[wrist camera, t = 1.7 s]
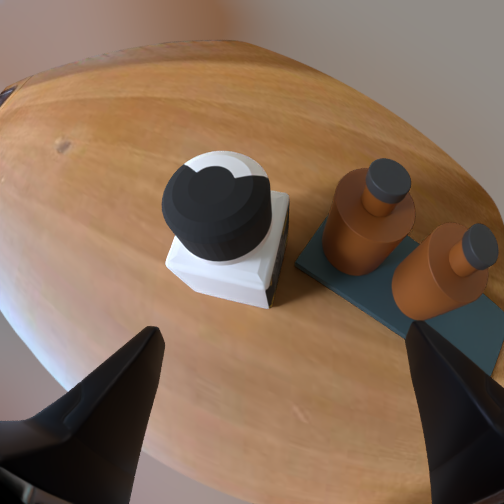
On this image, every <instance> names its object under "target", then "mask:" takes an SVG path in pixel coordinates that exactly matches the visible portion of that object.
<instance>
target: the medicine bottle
mask: <svg viewBox="0 0 504 504" xmlns="http://www.w3.org/2000/svg"><path fill="white" fill-rule="evenodd" d="M162 212H163V216H164V219H165V221H166V223H167V225H168V226H169V228H170V229H171V230H172V232H173V233H174V234H175V238H174V240H173V243H172V246H171V249H170V251H169V254H168V257H167V260H166V266H167V268H169V269H170V270H171V271H172V272H173V273H174V274H175V275H177V276H178V277H179V278H180V279H181V280H182V281H184V282H185V283H186V284H187V285H188V286H189V287H191V288H192V289H193V290H194V291H196V292H199V293H203V294H207V295H211V296H215V297H219V298H223V299H227V300H231V301H235V302H240V303H244V304H248V305H252V306H257V307H261V308H265V309H269V308H271V307H272V304H273V300H274V295H275V291H276V287H277V283H278V279H279V274H280V270H281V266H282V261H283V257H284V252H285V248H286V244H287V239H288V224H289V195H288V194H286V193H282V192H277V191H271V190H270V182H269V179H268V176H267V174H266V172H265V171H264V169H263V168H262V167H261V166H260V165H259V164H258V163H257V162H256V161H254V160H253V159H251V158H250V157H248V156H245V155H243V154H240V153H236V152H231V151H213V152H209V153H205V154H202V155H199V156H197V157H194V158H193V159H191V160H189V161H188V162H186V163H185V164H183V165H182V166H181V167H180V168H179V169H178V170H177V171H176V172H175V173H174V174H173V176H172V177H171V179H170V180H169V182H168V184H167V186H166V188H165V190H164V193H163V198H162Z"/></svg>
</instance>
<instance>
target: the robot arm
mask: <svg viewBox="0 0 504 504" xmlns="http://www.w3.org/2000/svg"><path fill="white" fill-rule="evenodd" d="M405 343H406V349H407V354H408V360H409V366H410V373H411V378H412V383H413V387H414V391H415V395H416V399H417V403H418V408H419V413H420V417H421V422H422V427H423V433H424V438H425V444H426V451H427V457H428V465H429V474H430V484H431V496H432V504H504V388H503V387H502V386H501V385H499V384H498V383H497V382H496V381H495V380H494V379H492V378H491V377H490V376H489V375H488V374H486V373H485V372H484V371H483V370H482V369H481V368H480V367H479V366H478V365H476V364H475V363H474V362H473V361H472V360H471V359H470V358H468V357H467V356H466V355H465V354H464V353H462V352H461V351H460V350H459V349H458V348H457V347H455V346H454V345H453V344H452V343H450V342H449V341H448V340H447V339H446V338H444V337H443V336H442V335H441V334H440V333H438V332H437V331H436V330H435V329H433V328H432V327H431V326H430V325H428V324H427V323H426V322H425V321H423V320H418V321H413V322H412V323H411V325H410V328H409V330H408V333H407V335H406V339H405ZM164 350H165V342H164V339H163V337H162V334H161V332H160V330H159V328H158V327H155V326H147V327H145V328H144V329H143V330H142V331H141V332H139V333H138V334H137V335H136V336H135V337H133V338H132V339H131V340H130V341H129V342H127V343H126V344H125V345H124V346H123V347H121V348H120V349H119V350H118V351H117V352H115V353H114V354H113V355H112V356H111V357H109V358H108V359H107V360H106V361H105V362H103V363H102V364H101V365H100V366H99V367H97V368H96V369H95V370H94V371H93V372H91V373H90V374H89V375H88V376H87V377H85V378H84V379H83V380H82V381H81V382H79V383H78V384H77V385H76V386H75V387H74V388H72V389H71V390H70V391H69V392H67V393H66V394H65V395H63V396H62V397H61V398H59V399H58V400H57V401H55V402H54V403H52V404H51V405H49V406H48V407H47V408H45V409H44V410H42V411H41V412H39V413H38V414H36V415H35V416H33V417H31V418H29V419H26V420H21V421H0V504H129V501H130V496H131V492H132V487H133V482H134V478H135V477H134V476H135V473H136V469H137V464H138V460H139V456H140V452H141V448H142V444H143V440H144V436H145V432H146V428H147V424H148V420H149V417H150V413H151V409H152V406H153V402H154V398H155V395H156V391H157V388H158V384H159V379H160V373H161V367H162V361H163V356H164Z"/></svg>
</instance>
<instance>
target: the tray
mask: <svg viewBox="0 0 504 504" xmlns="http://www.w3.org/2000/svg"><path fill="white" fill-rule="evenodd" d="M328 215H329V214H328ZM328 215H327V217H326V218H325V220H324V221H323V223H322V224H321V226H320V227H319V229H318V230H317V231H316V233H315V234H314V236H313V237H312V239H311V240H310V241H309V243H308V244H307V246H306V247H305V249H304V250H303V251H302V253H301V254H300V256H299V257H298V258H297V260H296V261H295V266H296V267H297V268H299V269H300V270H302V271H303V272H305V273H306V274H308V275H309V276H311V277H313V278H314V279H316V280H317V281H319V282H320V283H322V284H323V285H325V286H326V287H328V288H329V289H331V290H332V291H334V292H335V293H337V294H338V295H340V296H341V297H343V298H344V299H346V300H347V301H349V302H350V303H352V304H353V305H355V306H356V307H358V308H359V309H361V310H362V311H364V312H365V313H367V314H368V315H370V316H371V317H373V318H374V319H376V320H377V321H379V322H380V323H382V324H383V325H385V326H386V327H388V328H389V329H391V330H392V331H394V332H395V333H397V334H398V335H400V336H401V337H403V338H404V339H406V335H407V333H408V330H409V328H410V325H411V323H412V322H413V321H418V320H414V319H411V318H409V317H408V316H406V315H405V314H404V313H403V312H402V311H401V310H400V309H399V307H398V306H397V304H396V302H395V300H394V297H393V293H392V278H393V274H394V272H395V270H396V268H397V266H398V265H399V264H400V263H401V262H402V261H403V260H404V259H405V258H406V257H407V256H408V255H409V254H410V253H412V252H413V251H414V250H415V249H416V248H417V247H418V246H419V245H420V244H419V243H417V242H416V241H414V240H413V239H411V238H410V237H409V236H406V237H405V238H404V239H403V240H402V241H401V242H400V244H399V245H398V246H397V247H396V248H395V249H394V250H393V251H392V252H391V254H390V255H389V256H388V257H387V258H386V259H385V260H384V261H383V262H382V263H381V264H380V265H379V266H378V267H377V268H376V269H375V270H374V271H372V272H371V273H368V274H366V275H361V276H353V275H348V274H345V273H343V272H341V271H339V270H337V269H336V268H335V267H334V266H333V265H332V264H331V263H330V262H329V261H328V259H327V258H326V256H325V254H324V251H323V247H322V236H323V232H324V229H325V225H326V222H327V219H328ZM423 321H425V322H426V323H427V324H428V325H430V326H431V327H432V328H433V329H435V330H436V331H437V332H438V333H440V334H441V335H442V336H443V337H444V338H446V339H447V340H448V341H449V342H450V343H452V344H453V345H454V346H455V347H457V348H458V349H459V350H460V351H461V352H462V353H464V354H465V355H466V356H467V357H468V358H470V359H471V360H472V361H473V362H474V363H475V364H476V365H478V366H479V367H480V368H481V369H482V370H483V371H484V372H485V373H486V374H488V375H489V376H491V374H492V371H493V369H494V366H495V364H496V361H497V358H498V355H499V352H500V350H501V347H502V344H503V340H504V312H503V311H502V310H501V309H500V308H499V307H498V306H497V305H496V304H495V303H494V302H492V301H491V300H490V299H489V298H488V297H487V296H486V295H484V294H483V293H482V295H481V296H480V297H479V298H478V299H477V300H475V301H474V302H472V303H469V304H467V305H464V306H462V307H460V308H457V309H455V310H452V311H449V312H447V313H444V314H442V315H439V316H436V317H433V318H431V319H428V320H423Z"/></svg>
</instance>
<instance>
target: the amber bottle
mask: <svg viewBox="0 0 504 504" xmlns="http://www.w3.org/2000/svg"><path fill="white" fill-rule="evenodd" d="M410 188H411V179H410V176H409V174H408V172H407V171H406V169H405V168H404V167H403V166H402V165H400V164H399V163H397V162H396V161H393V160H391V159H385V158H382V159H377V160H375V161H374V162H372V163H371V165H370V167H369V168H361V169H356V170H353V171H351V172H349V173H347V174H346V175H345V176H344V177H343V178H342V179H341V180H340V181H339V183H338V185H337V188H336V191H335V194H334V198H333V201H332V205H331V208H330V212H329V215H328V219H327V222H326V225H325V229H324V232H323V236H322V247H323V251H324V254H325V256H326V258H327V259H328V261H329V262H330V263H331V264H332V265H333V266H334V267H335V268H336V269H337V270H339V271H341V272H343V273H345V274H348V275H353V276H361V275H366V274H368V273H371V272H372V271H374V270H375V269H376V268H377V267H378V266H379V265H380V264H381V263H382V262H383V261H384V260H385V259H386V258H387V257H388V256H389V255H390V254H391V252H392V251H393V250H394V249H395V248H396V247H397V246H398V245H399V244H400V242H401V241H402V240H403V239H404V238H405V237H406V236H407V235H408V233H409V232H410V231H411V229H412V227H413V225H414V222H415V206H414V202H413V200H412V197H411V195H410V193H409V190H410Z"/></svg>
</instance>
